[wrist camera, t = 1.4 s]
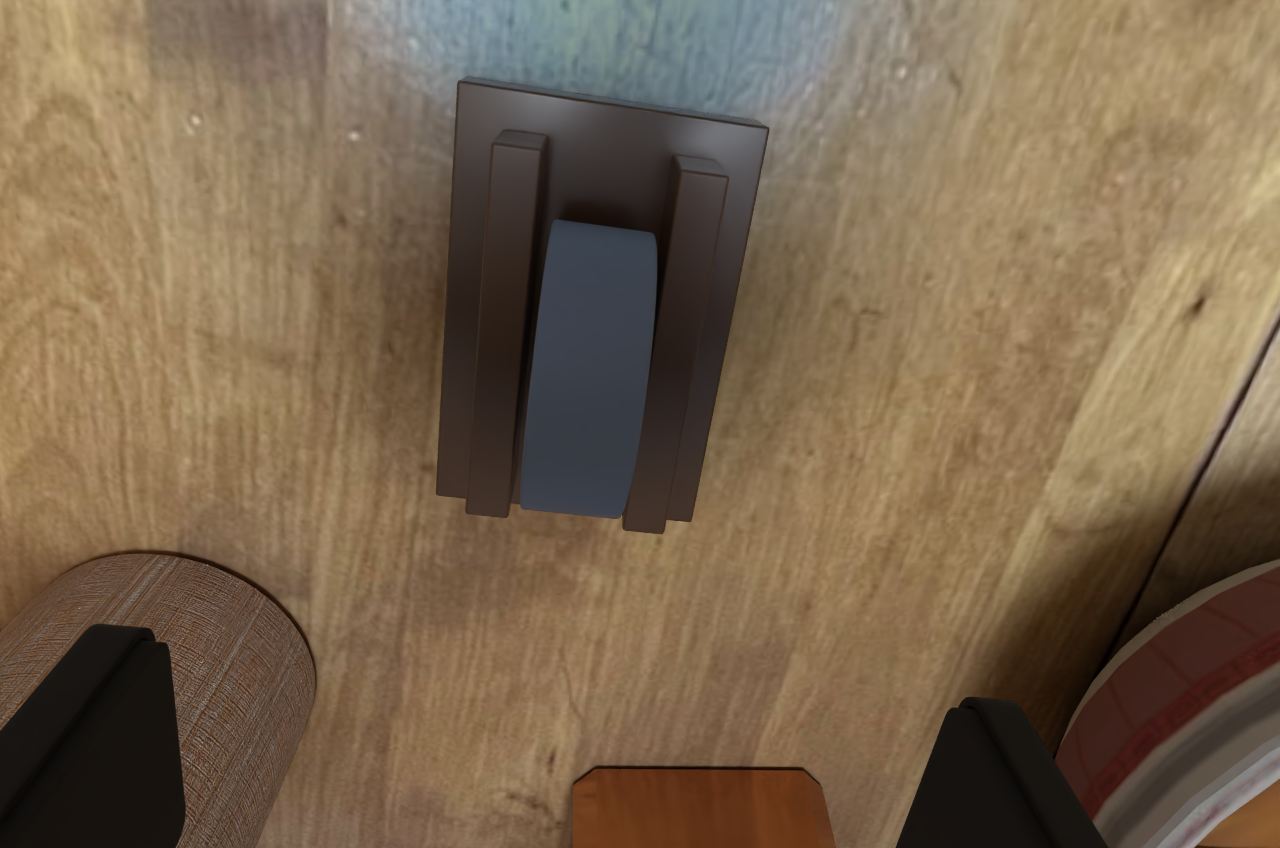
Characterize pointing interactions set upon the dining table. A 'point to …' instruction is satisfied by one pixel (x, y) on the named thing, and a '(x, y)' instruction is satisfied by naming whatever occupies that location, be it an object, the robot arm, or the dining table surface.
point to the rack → (515, 259)
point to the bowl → (1187, 725)
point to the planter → (187, 676)
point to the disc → (589, 369)
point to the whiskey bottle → (699, 809)
